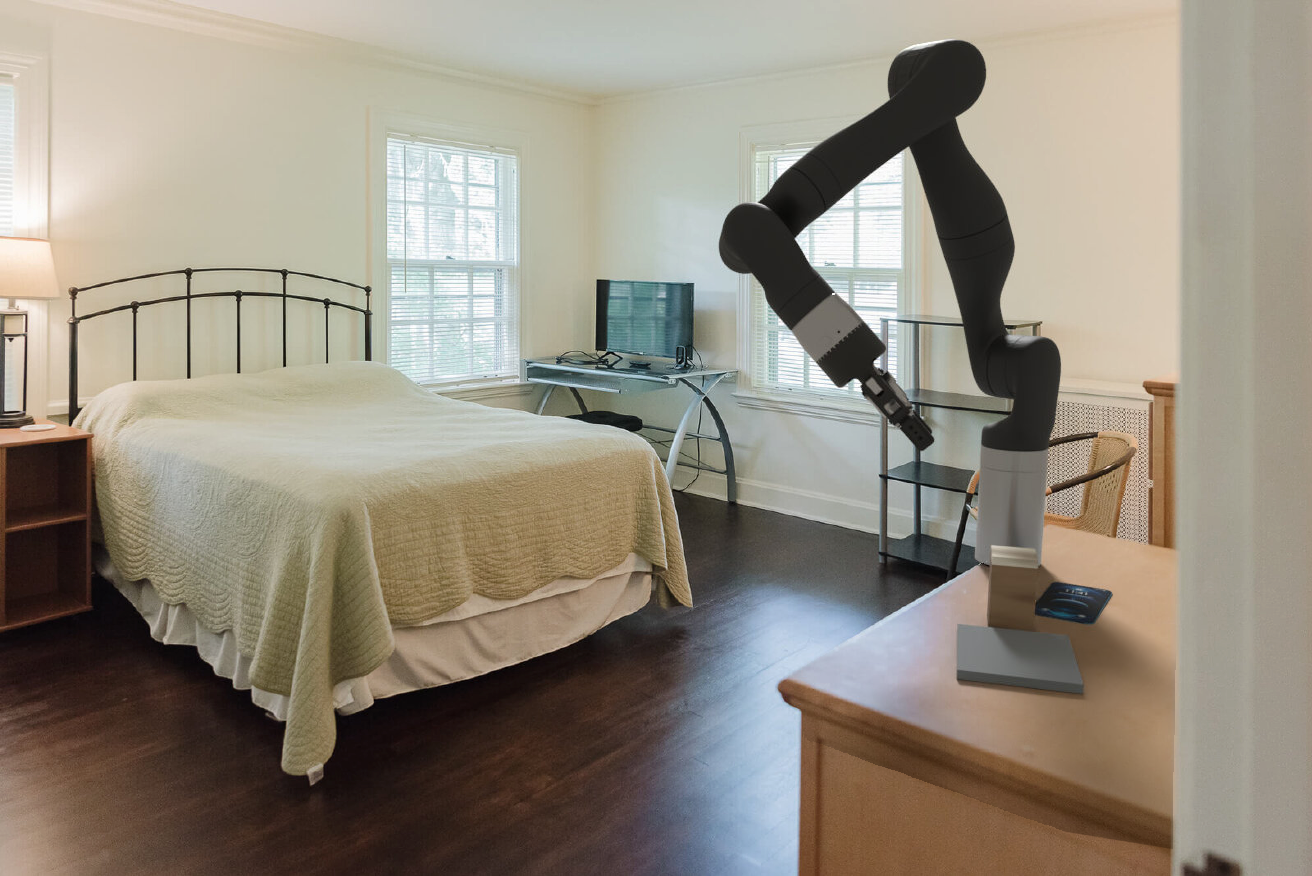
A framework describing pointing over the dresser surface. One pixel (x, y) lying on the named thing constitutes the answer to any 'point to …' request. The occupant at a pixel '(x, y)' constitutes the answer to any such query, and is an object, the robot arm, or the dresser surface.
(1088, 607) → the smartphone
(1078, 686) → the slate mat
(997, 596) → the tan rectangular block
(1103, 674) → the dresser surface
